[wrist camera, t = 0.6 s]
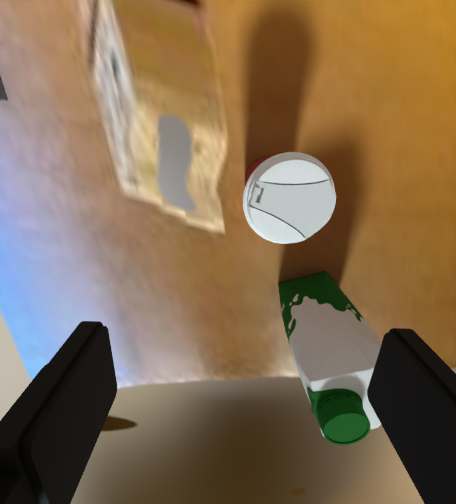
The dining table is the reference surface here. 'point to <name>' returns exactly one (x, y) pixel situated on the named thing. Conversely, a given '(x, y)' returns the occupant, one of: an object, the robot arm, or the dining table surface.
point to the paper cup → (288, 197)
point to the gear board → (2, 92)
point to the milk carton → (331, 355)
